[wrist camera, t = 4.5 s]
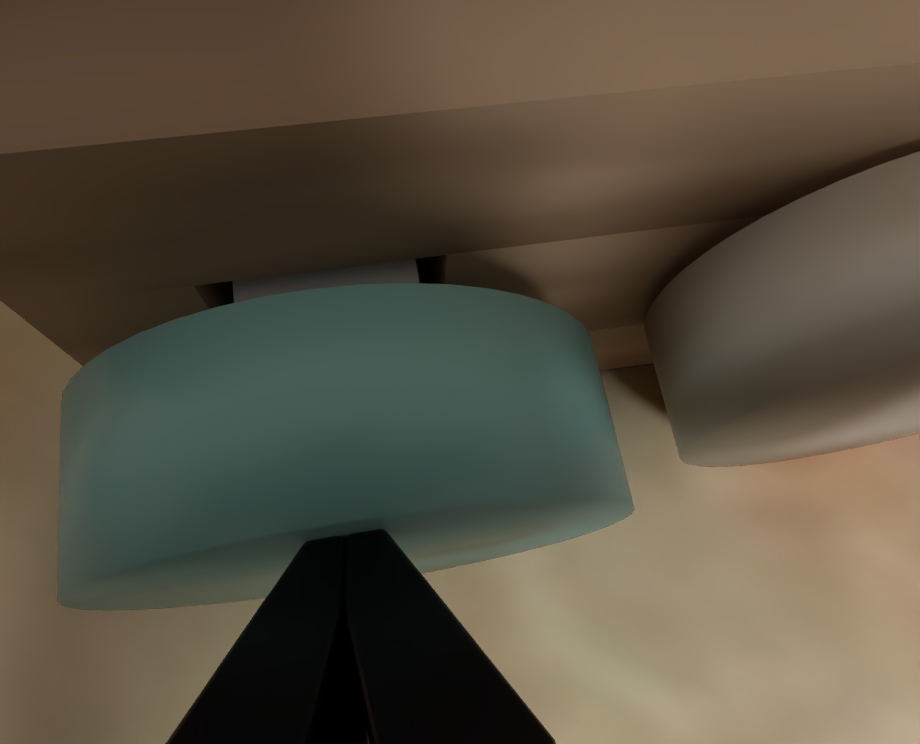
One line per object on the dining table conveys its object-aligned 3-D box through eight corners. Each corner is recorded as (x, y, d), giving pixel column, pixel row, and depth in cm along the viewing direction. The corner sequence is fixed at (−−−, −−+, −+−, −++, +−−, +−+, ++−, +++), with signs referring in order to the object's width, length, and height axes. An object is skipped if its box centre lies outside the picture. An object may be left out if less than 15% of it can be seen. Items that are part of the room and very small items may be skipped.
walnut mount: (955, 436, 16) (1571, 210, 7) (171, 564, 14) (-206, 459, 6) (752, -52, 21) (980, -520, 12) (153, -5, 19) (-60, -519, 10)
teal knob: (571, 548, 14) (730, 459, 7) (175, 615, 13) (-111, 596, 6) (458, 27, 18) (483, -354, 11) (157, 54, 18) (-20, -340, 10)
